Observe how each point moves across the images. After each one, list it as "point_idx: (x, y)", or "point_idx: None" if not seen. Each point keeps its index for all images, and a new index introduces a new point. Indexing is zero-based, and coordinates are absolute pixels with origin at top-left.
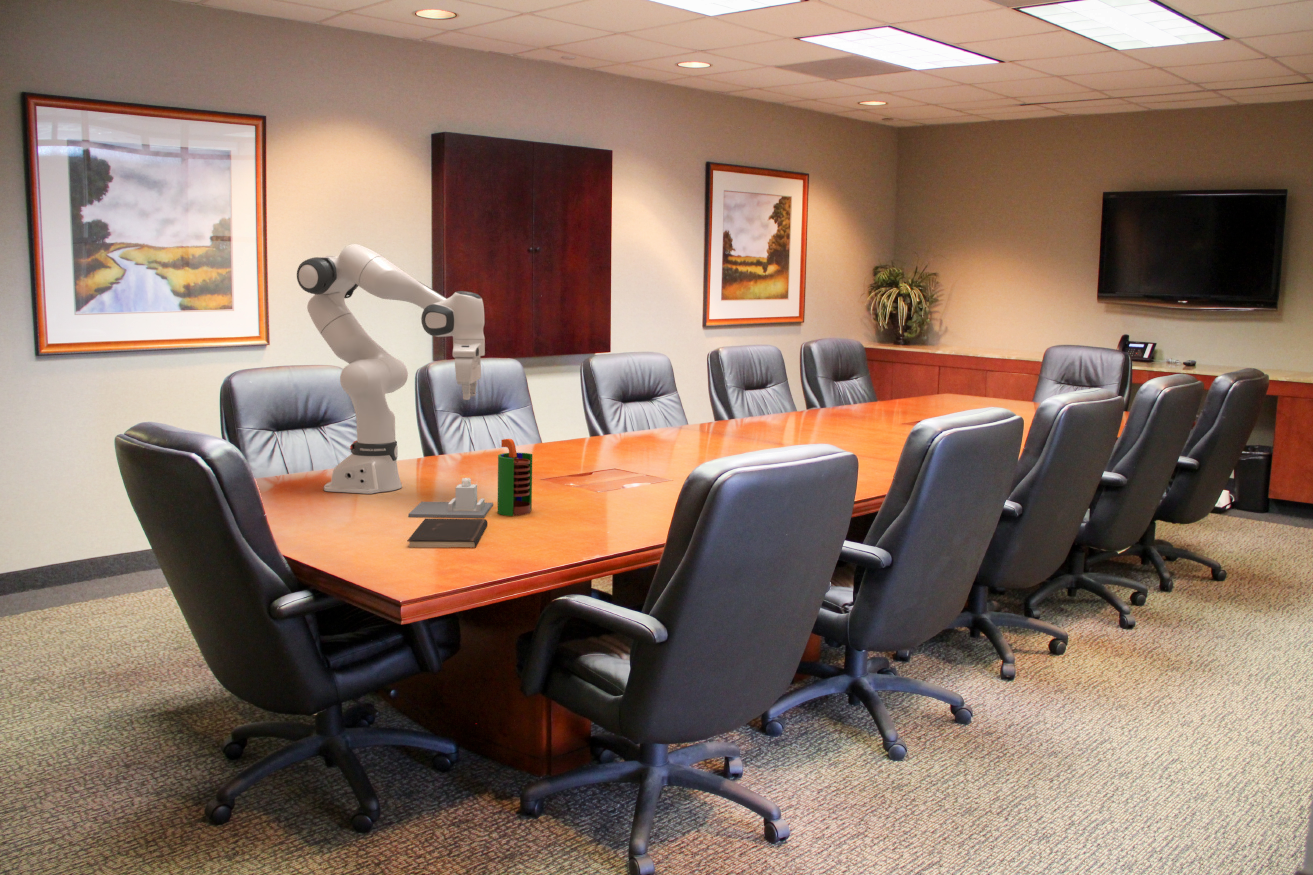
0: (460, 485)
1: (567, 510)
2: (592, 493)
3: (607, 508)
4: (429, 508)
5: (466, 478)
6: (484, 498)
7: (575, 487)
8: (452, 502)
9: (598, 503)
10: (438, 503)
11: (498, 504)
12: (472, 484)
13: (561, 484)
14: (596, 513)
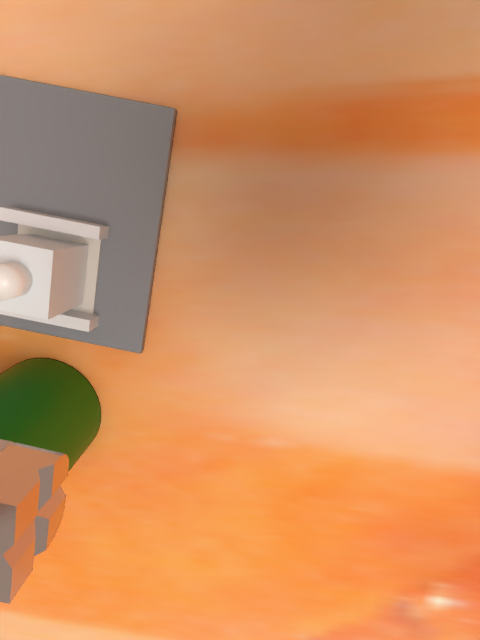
0: (26, 256)
1: (68, 537)
2: (288, 629)
3: (89, 627)
4: (57, 142)
5: (5, 284)
6: (87, 331)
7: (386, 603)
8: (25, 223)
9: (152, 619)
10: (137, 173)
11: (12, 369)
12: (46, 302)
13: (444, 574)
14: (32, 594)
